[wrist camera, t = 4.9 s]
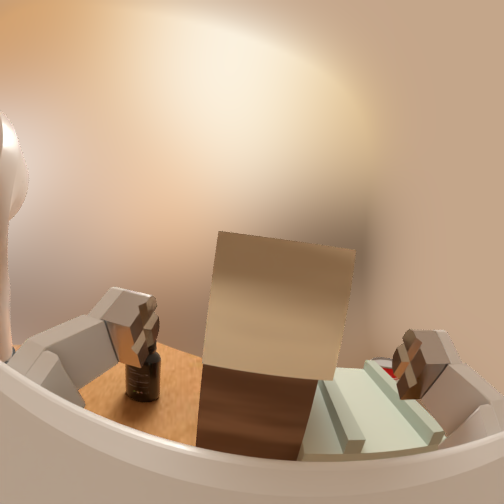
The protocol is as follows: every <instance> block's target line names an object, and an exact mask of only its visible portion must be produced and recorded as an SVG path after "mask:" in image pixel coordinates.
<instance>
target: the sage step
mask: <svg viewBox="0 0 504 504" xmlns="http://www.w3.org/2000/svg"><path fill="white" fill-rule="evenodd" d="M396 384H397V382H396V381H395V380H394V379H393V378H392V377H391V376H390V375H389V374H388V373H387V372H386V371H385V370H384V369H383V368H381V367H380V366H379V365H378V364H377V363H376V362H375V361H374V360H366V361H365V364H364V369H351V368H336V369H335V373H334V378H333V381H327V380H318V384H317V388H316V392H315V396H314V400H313V404H312V408H311V412H310V416H309V420H308V423H307V427H306V430H305V434H304V437H303V441H302V444H301V448H300V451H299V454H298V457H297V461H309V462H345V461H365V460H377V459H387V458H396V457H403V456H410V455H416V454H422V453H427V452H432V451H437V450H438V445H439V444H440V443H441V442H442V441H443V440H444V439H445V438H447V437H445V436H444V434H445V431H444V430H443V429H442V427H441V426H440V425H439V424H438V422H437V421H436V420H435V419H434V418H433V417H432V416H431V415H430V414H429V413H428V412H427V411H426V410H425V409H424V408H423V407H422V406H421V405H420V404H419V403H418V402H417V401H416V400H400V397H399V393H398V389H397V385H396Z"/></svg>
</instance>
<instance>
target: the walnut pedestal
mask: <svg viewBox="0 0 504 504" xmlns="http://www.w3.org/2000/svg"><path fill="white" fill-rule="evenodd" d="M317 384H318V380H314V379H302V378H292V377H283V376H275V375H267V374H260V373H253V372H246V371H240V370H234V369H228V368H223V367H217V366H212V365H207V364H203V370H202V380H201V391H200V401H199V413H198V425H197V437H196V447H199V448H204V449H209V450H213V451H219V452H224V453H230V454H236V455H242V456H249V457H257V458H266V459H276V460H289V461H297V457H298V454H299V451H300V448H301V444H302V441H303V437H304V434H305V430H306V427H307V423H308V420H309V416H310V412H311V408H312V404H313V400H314V396H315V392H316V388H317Z"/></svg>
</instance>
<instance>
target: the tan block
mask: <svg viewBox="0 0 504 504" xmlns="http://www.w3.org/2000/svg"><path fill="white" fill-rule="evenodd" d="M355 254H356V250H352V249H346V248H339V247H332V246H324V245H318V244H311V243H304V242H297V241H290V240H283V239H275V238H267V237H261V236H253V235H246V234H238V233H230V232H223V231H219V233H218V239H217V246H216V253H215V261H214V267H213V275H212V282H211V290H210V298H209V306H208V314H207V323H206V331H205V340H204V349H203V358H202V364H207V365H212V366H217V367H223V368H228V369H234V370H240V371H246V372H253V373H260V374H267V375H275V376H283V377H292V378H302V379H314V380H327V381H333V378H334V373H335V369H336V365H337V360H338V356H339V351H340V346H341V342H342V337H343V331H344V326H345V321H346V315H347V310H348V303H349V297H350V291H351V284H352V277H353V270H354V262H355Z"/></svg>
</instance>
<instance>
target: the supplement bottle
mask: <svg viewBox="0 0 504 504" xmlns="http://www.w3.org/2000/svg"><path fill="white" fill-rule="evenodd" d="M156 349H157V347H156V341H155V343H154V344H153V345H151V346H149V347H148V352H149V354H148V356H147V358H146V360H145V362H144V364H143V366H142V368H139V367H135V366H131V365H128V364H125V375H126V393H127V395H128V396H129V397H130V398H132V399H134V400H136V401H141V402H150V401H154V400H156V399H157V398H158V397H159V395H160V368H161V358H160V355H159V354H158V353H157V352H156Z"/></svg>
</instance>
